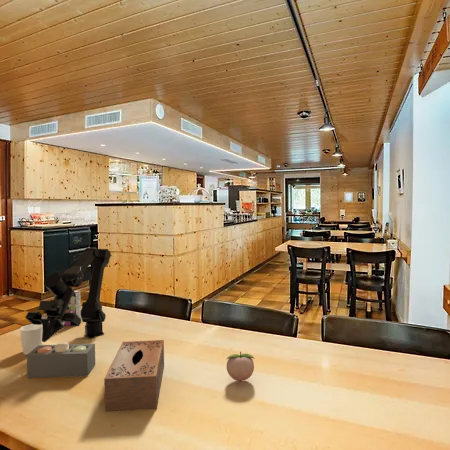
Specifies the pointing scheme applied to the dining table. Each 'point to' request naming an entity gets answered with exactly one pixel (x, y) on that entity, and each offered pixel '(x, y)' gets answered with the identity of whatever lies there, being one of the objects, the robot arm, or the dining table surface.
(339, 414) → the dining table surface
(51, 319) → the robot arm
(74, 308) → the candy bar box
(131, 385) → the tissue box cover
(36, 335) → the white cup
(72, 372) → the tray
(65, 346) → the cream rounded egg shape
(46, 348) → the terracotta button
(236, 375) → the decorative fruit
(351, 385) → the dining table surface
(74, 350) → the sage button
